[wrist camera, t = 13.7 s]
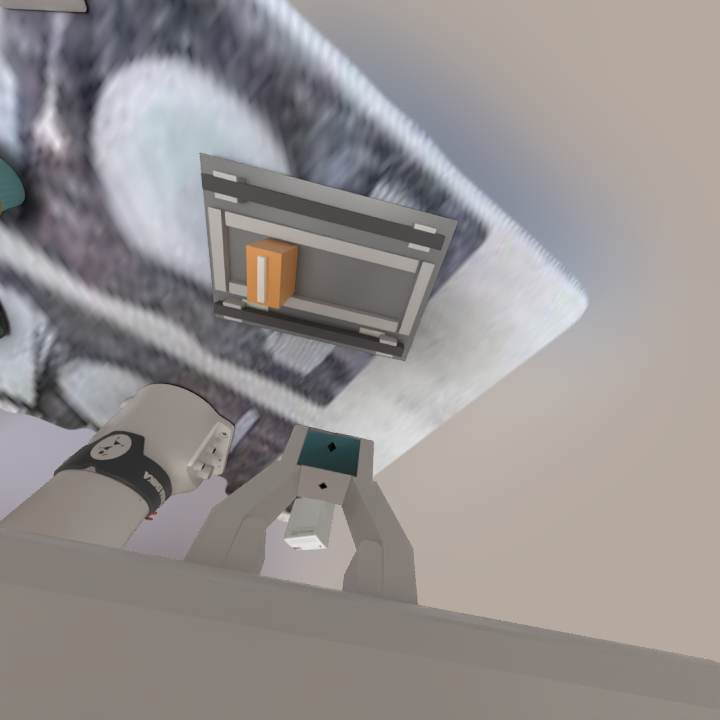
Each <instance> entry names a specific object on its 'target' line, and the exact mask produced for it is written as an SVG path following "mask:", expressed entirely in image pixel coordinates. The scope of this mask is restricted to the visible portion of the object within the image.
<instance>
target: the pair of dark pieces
mask: <svg viewBox="0 0 720 720" xmlns="http://www.w3.org/2000/svg"><path fill="white" fill-rule="evenodd" d="M201 176H202V187H203V189H204V190H207V191H211V192H215V193H219V194H223V195H227V196H231V197H235V198H238V199H242V200H246V201H250V202H254V203H258V204H262V205H266V206H269V207H273V208H277V209H281V210H285V211H289V212H293V213H297V214H300V215H304V216H308V217H312V218H316V219H320V220H324V221H327V222H331V223H335V224H339V225H343V226H347V227H351V228H355V229H358V230H362V231H366V232H370V233H374V234H378V235H382V236H386V237H389V238H393V239H397V240H401V241H405V242H409V243H413V244H417V245H420V246H424V247H428V248H432V249H436V250H440V251H441V248H442V246H443V243H444V240H445V238H446V237H445V236H444V235H440V234H436V233H435V234H433V233H430V232H426V231H422V230H418V229H414V228H413V227H410V226H406V225H402V224H398V223H394V222H390V221H387V220H383V219H379V218H375V217H371V216H368V215H364V214H360V213H356V212H352V211H348V210H345V209H341V208H337V207H333V206H329V205H325V204H322V203H318V202H314V201H310V200H306V199H302V198H299V197H295V196H291V195H287V194H283V193H280V192H276V191H272V190H268V189H264V188H260V187H257V186H253V185H249V184H245V183H240V182H234V181H231V180H227V179H223V178H219V177H215V176H213V175H211V174H205V173H201ZM223 302H224V301H222V300H219V301H217V302H215V303H214V313H215V314H219V315H223V316H228V317H232V318H236V319H240V320H245V321H249V322H253V323H257V324H262V325H266V326H270V327H274V328H279V329H283V330H287V331H292V332H296V333H300V334H304V335H309V336H313V337H317V338H321V339H326V340H330V341H334V342H338V343H343V344H347V345H351V346H355V347H360V348H364V349H368V350H372V351H377V352H381V353H385V354H389V355H394V356H398V357H402V354H403V352H404V349H405V348H404V344H403V343H398V342H397V345H396V346H393V345H388V344H384V343H380V342H379V338H377V337H373V336H369V335H365V334H361V333H356V332H352V331H348V330H344V329H339V328H335V327H331V326H327V325H323V324H318V323H314V322H310V321H306V320H302V319H297V318H293V317H289V316H285V315H281V314H276V313H272V312H268V311H264V310H260V309H255V308H251V307H247V306H245V307H244V308H242V309H236V308H232V307H228V306H224V305H223Z"/></svg>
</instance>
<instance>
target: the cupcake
mask: <svg viewBox="0 0 720 720" xmlns="http://www.w3.org/2000/svg"><path fill="white" fill-rule="evenodd" d="M24 199H25V191H24V188H23V185H22V183H21V181H20V179H19V177H18V176H17V174H16V173H15V172H14V170H13V169H12V168H11V167H10V166H9V165H8V164H7V163H6V162H5V161H4V160H2V159H1V158H0V215H1V212H2V211H4V210H7V209H9V208H12V207H15V206H18V205H20V204H22V203H23V201H24Z"/></svg>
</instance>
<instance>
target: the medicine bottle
mask: <svg viewBox="0 0 720 720" xmlns="http://www.w3.org/2000/svg"><path fill="white" fill-rule="evenodd" d="M0 6H1V7H3V8H8V9H28V10H48V11H68V12H86V10H87V8H86V4H85V1H84V0H0Z"/></svg>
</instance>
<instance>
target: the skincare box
mask: <svg viewBox="0 0 720 720" xmlns="http://www.w3.org/2000/svg"><path fill="white" fill-rule="evenodd" d="M334 506H335V504H334V503H330V502H325V501H321V500H316V499H310V498H305V497H299V496H296V498H295V501H294V505H293V508H292V511H291V515H290V518H289V521H288V525H287V528H286V532H285V535H284V540H285V541H286V542H287V543H288V544H289V545H290V546H292V547H293V548H294V549H295V550H314V549H320V548H327V547H328V542H329V535H330V530H331V524H332V518H333V511H334Z"/></svg>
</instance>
